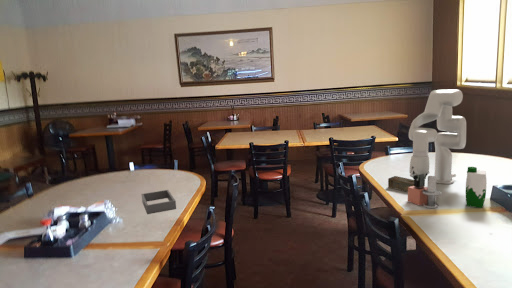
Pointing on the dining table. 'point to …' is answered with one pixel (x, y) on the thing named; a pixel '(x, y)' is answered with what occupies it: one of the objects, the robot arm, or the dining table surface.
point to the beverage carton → (400, 183)
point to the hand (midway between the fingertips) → (419, 186)
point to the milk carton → (475, 187)
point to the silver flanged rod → (431, 192)
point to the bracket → (417, 195)
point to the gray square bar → (421, 181)
